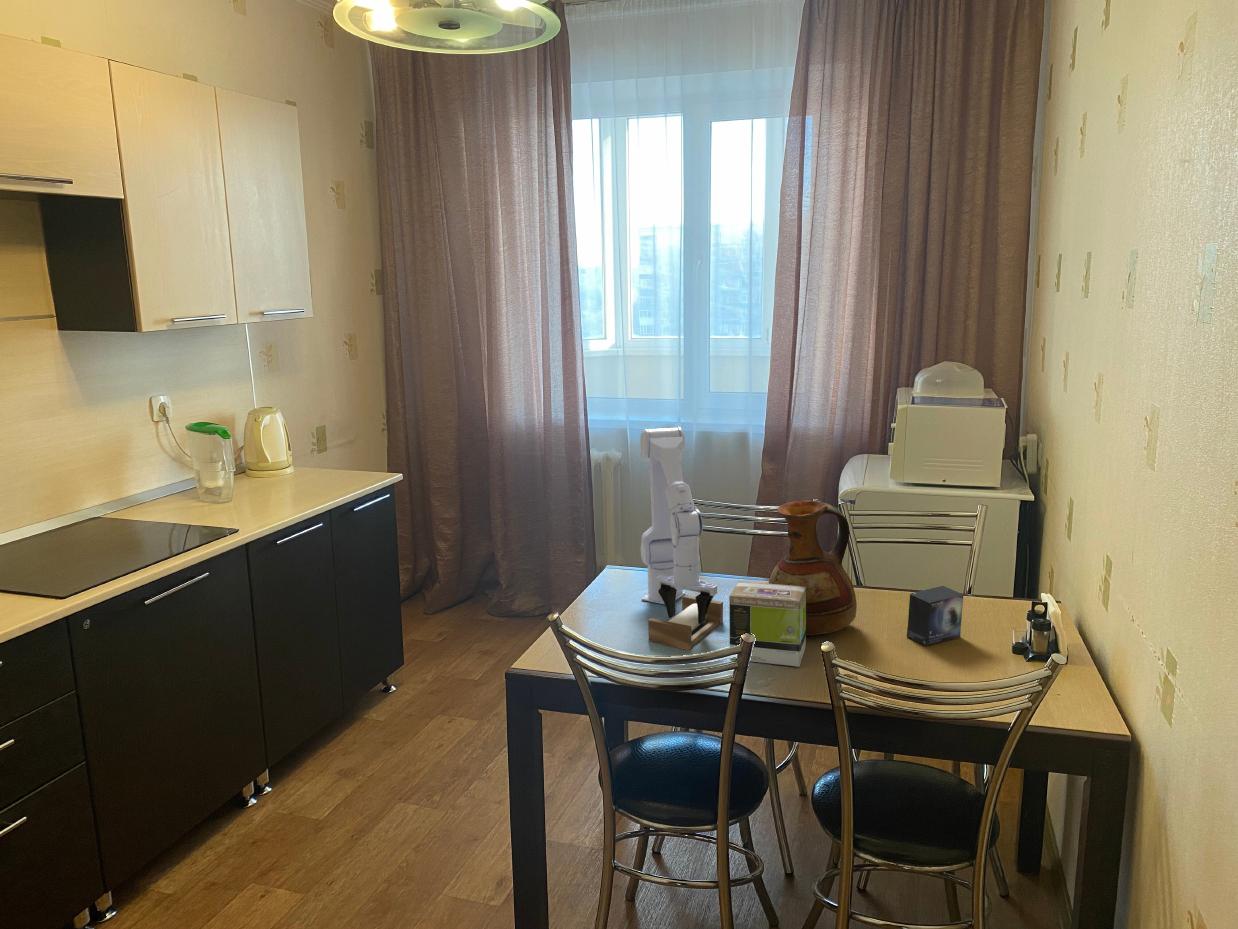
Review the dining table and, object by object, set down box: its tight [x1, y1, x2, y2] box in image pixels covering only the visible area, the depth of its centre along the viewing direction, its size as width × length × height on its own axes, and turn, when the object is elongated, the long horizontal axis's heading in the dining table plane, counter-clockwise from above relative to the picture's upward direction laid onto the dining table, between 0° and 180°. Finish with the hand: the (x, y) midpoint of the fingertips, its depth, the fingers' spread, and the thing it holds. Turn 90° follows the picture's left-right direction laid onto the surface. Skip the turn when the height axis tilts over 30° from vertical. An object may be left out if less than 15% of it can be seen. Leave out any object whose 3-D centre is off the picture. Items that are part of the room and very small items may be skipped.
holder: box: [647, 594, 724, 651], centre depth 207 cm, size 18×10×5 cm, turn 149°
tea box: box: [728, 580, 807, 668], centre depth 192 cm, size 15×10×15 cm
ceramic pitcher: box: [768, 499, 858, 636], centre depth 205 cm, size 20×20×30 cm
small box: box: [906, 585, 965, 647], centre depth 200 cm, size 11×6×10 cm, turn 118°
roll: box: [668, 604, 707, 632], centre depth 206 cm, size 12×5×5 cm, turn 149°
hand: (686, 619), depth 206 cm, fingers open, 7 cm apart
